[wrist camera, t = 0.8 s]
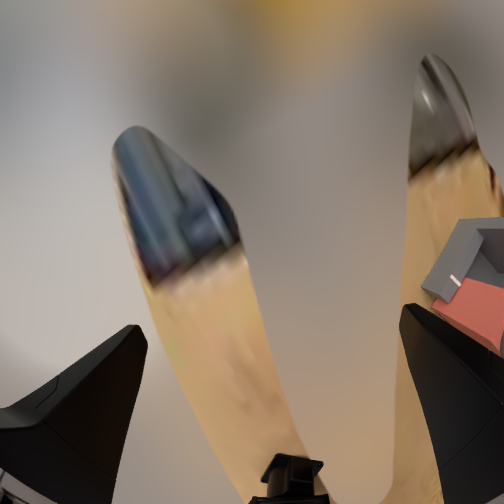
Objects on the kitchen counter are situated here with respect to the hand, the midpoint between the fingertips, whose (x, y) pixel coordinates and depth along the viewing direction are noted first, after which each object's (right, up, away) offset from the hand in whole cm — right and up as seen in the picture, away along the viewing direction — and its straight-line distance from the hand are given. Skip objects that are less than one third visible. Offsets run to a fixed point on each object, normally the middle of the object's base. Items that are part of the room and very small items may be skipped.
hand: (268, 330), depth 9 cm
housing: (+23, 0, +15) cm, 27 cm away
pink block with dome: (+21, -3, +14) cm, 25 cm away
